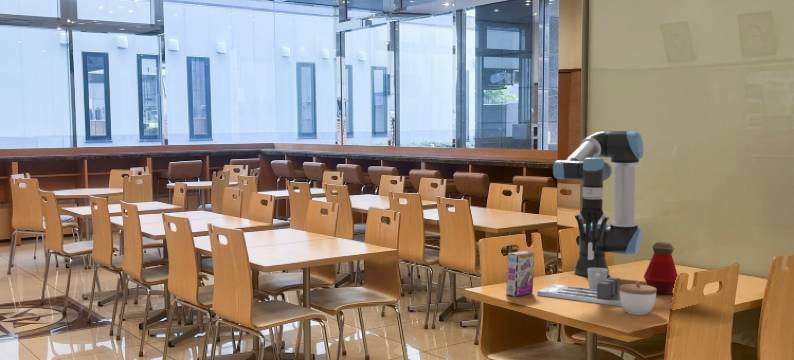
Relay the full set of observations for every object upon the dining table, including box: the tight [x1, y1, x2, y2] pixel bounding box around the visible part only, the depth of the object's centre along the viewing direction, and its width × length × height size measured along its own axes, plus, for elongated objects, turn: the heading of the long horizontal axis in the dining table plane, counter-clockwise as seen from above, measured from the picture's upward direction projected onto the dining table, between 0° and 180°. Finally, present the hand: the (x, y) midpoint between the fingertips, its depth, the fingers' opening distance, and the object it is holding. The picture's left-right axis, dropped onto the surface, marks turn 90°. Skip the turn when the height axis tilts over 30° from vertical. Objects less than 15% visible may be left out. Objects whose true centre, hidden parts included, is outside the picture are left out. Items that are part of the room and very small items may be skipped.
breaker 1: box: [597, 282, 611, 299], centre depth 292 cm, size 4×4×5 cm
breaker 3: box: [607, 276, 621, 293], centre depth 302 cm, size 4×4×5 cm
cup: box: [587, 268, 608, 289], centre depth 317 cm, size 11×8×8 cm
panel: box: [536, 283, 622, 307], centre depth 301 cm, size 18×34×2 cm, turn 58°
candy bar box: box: [505, 250, 535, 298], centre depth 303 cm, size 11×5×16 cm, turn 134°
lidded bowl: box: [619, 281, 657, 316], centre depth 275 cm, size 13×13×11 cm
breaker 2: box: [602, 278, 615, 296], centre depth 297 cm, size 4×4×5 cm
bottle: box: [643, 241, 679, 296], centre depth 313 cm, size 16×14×20 cm
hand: (590, 259), depth 301 cm, fingers closed
